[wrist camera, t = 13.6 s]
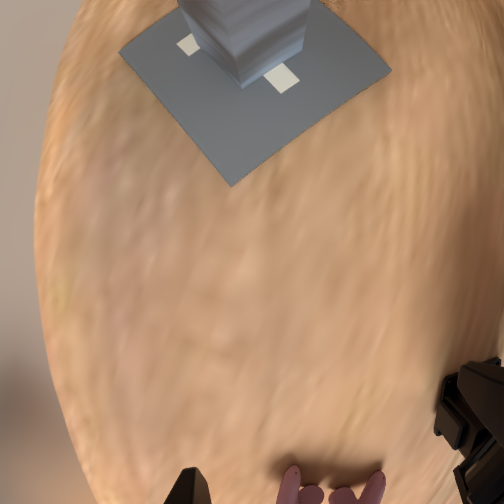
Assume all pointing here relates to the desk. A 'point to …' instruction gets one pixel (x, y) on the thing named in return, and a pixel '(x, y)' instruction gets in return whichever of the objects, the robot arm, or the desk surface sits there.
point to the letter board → (252, 88)
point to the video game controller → (340, 500)
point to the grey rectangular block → (247, 33)
